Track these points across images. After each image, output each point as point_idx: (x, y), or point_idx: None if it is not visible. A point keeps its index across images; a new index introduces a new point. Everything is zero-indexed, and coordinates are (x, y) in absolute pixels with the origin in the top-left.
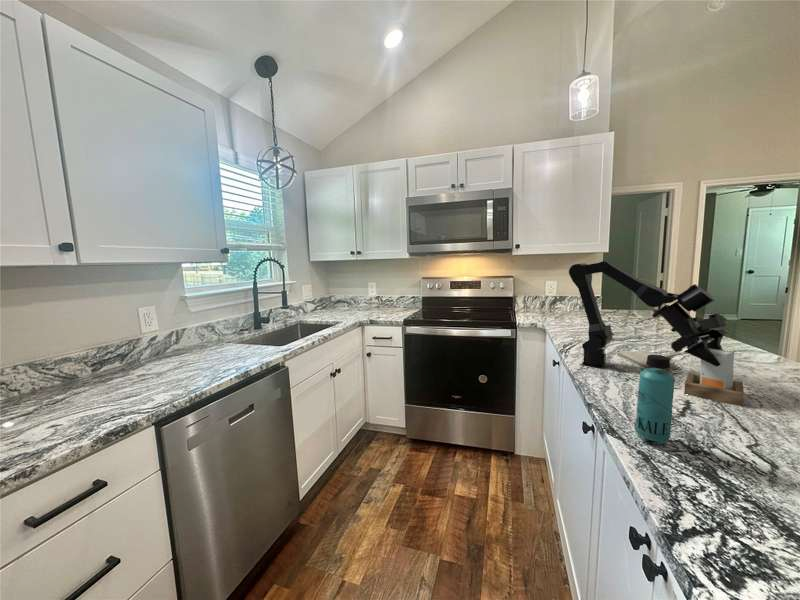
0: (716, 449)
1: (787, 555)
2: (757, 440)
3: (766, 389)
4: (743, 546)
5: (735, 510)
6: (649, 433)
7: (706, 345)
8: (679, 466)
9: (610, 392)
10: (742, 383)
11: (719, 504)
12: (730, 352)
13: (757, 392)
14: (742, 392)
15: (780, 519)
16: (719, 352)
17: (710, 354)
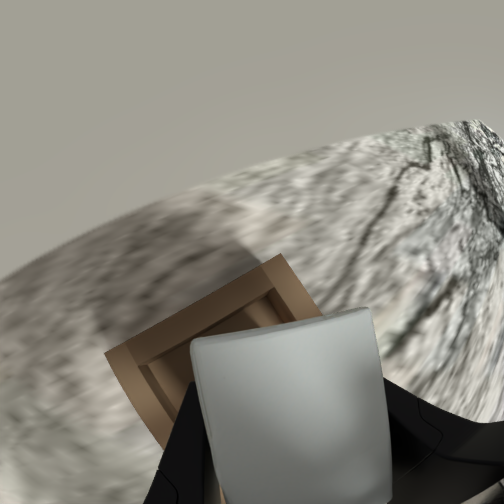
0: (463, 185)
1: (473, 122)
2: (402, 167)
3: (23, 329)
4: (487, 136)
5: (482, 144)
6: None
7: (478, 444)
8: (498, 189)
9: (486, 416)
10: (134, 337)
11: (488, 152)
12: (257, 347)
13: (69, 329)
14: (264, 267)
15: (463, 126)
16: (369, 386)
17: (418, 397)
